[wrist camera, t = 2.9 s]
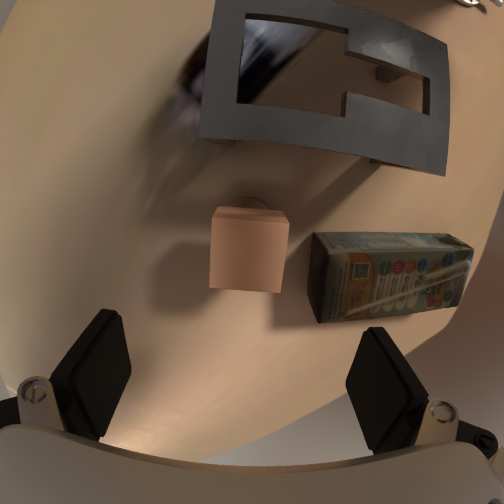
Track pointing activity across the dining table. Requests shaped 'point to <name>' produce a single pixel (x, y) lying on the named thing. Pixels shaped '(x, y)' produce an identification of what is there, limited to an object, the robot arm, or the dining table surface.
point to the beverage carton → (385, 274)
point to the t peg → (248, 247)
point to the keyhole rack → (353, 105)
